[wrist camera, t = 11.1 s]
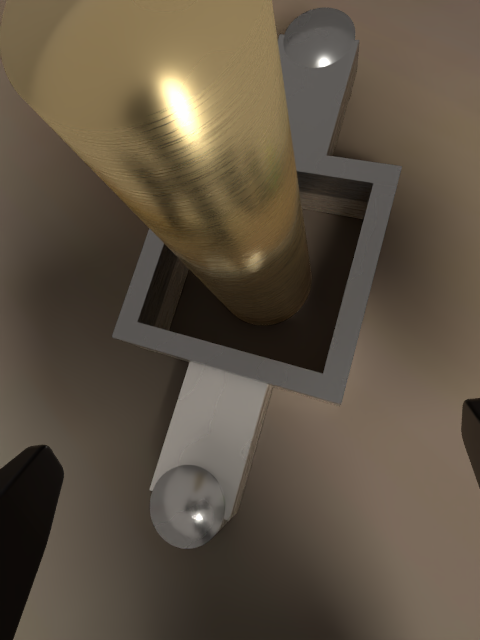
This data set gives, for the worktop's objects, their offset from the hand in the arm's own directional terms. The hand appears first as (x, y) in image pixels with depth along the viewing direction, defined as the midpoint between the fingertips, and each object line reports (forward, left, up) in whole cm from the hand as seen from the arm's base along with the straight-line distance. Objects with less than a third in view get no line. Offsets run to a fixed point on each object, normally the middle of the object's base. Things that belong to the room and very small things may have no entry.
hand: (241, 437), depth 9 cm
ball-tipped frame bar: (+6, +2, -8) cm, 10 cm away
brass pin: (+6, +2, -8) cm, 10 cm away
